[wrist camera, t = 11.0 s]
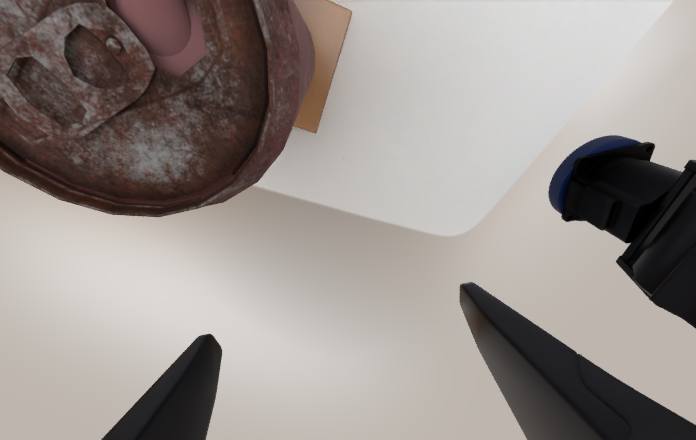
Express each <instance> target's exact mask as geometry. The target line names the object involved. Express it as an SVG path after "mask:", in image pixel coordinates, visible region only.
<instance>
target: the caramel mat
mask: <svg viewBox="0 0 696 440" xmlns="http://www.w3.org/2000/svg"><path fill="white" fill-rule="evenodd" d="M293 1H294V3H295V5H296V6H297V8H298V10H299V12H300V14H301V16H302V18H303V20H304V21H305V23H306V25H307V27H308V29H309V31H310V33H311V37H312V42H313V46H314V50H315V64H314V74H313V77H312V79H311V82H310V85H309V88H308V91H307V93H306V96H305V98H304V100H303V103H302V105H301V108H300V110H299V113H298V115H297V117H296V120H295V122H294V125H293V126H295V127H298V128H301V129H304V130H307V131H310V132H313V133H316V132H317V129H318V126H319V122H320V119H321V115H322V112H323V109H324V105H325V102H326V99H327V95H328V92H329V89H330V85H331V82H332V78H333V75H334V72H335V68H336V65H337V62H338V58H339V55H340V51H341V48H342V45H343V41H344V38H345V35H346V31H347V28H348V25H349V21H350V18H351V14H352V11H351V10H348V9H346V8H344V7H342V6H340V5H338V4H335V3H333V2H331V1H329V0H293Z"/></svg>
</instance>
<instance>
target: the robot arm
mask: <svg viewBox="0 0 696 440" xmlns="http://www.w3.org/2000/svg"><path fill="white" fill-rule="evenodd" d="M654 149H655V144H654V143H650V142H644V143H639V144H635V145H630V146H626V147H621V148H617V149H612V150H608V151H603V152H598V153H594V154H589V155H585V156H581V157H578V158H577V159H576V160H575V161H574V164H573V168H572V173H571V177H570V181H569V186H568V190H567V194H566V199H565V203H564V207H563V212H562V216H561V218H562V219H563V220H564V221H566V222H570V221H575V220H580V219H584V220H586V221H587V222H589V223H591V224H592V225H594V226H595V227H597V228H598V229H600V230H606V231H607V232H609V233H610V234H612V235H614V236H615V237H617V238H619V239H620V240H622V241H623V242H625V243H631V244H630V245H629V246H628V248H627V249H626V251H625V252H624V253H623V255H622V256H619V258H618V259H617V260H616V263H617V264H618V265H619V266H620V267H621V268H622V269H623V270H624V271H625V272H626V274H627V275H628V276H629V277H630V278H631V279H632V280H633V281H634V282H635V283H636V285H637V286H638V287H639V288H640V289H641V290H642V291H643V292H644V293H645V294H646V296H648V298H649V299H650V300H651V301H653V303H655V304H656V305H657V306H659V307H661V308H663V309H665V310H667V311H669V312H671V313H673V314H674V315H677V316H679V317H681V318H682V319H684V320H685V321H687V322H688V323H689V324H690V325H692V326H693V327H694V328H696V160H689V161H688V163H687V164H686V166H685V167H684V168H685V170H684V171H683V172H680V171H677V170H674V169H671V168H668V167H665V166H662V165H659V164H656V163H653V162H650V159H651V157H652V154H653V151H654ZM581 162H582V163H581ZM580 163H581V164H580ZM460 305H461V308H462V310H463V313H464V315H465V317H466V320H467V322H468V325H469V327H470V329H471V332H472V335H473V337H474V339H475V342H476V344H477V347H478V349H479V351H480V353H481V355H482V357H483V358H484V360H485V362H486V364H487V366H488V368H489V370H490V371H491V373H492V375H493V377H494V379H495V381H496V383H497V384H498V386H499V388H500V390H501V392H502V394H503V395H504V397H505V399H506V401H507V403H508V405H509V407H510V408H511V410H512V412H513V414H514V416H515V418H516V419H517V421H518V423H519V425H520V427H521V429H522V430H523V432H524V434H525V436H526V438H527V440H696V425H694V424H693V423H691V422H689V421H688V420H686V419H684V418H682V417H681V416H679V415H677V414H676V413H674V412H672V411H671V410H669V409H667V408H665V407H664V406H662V405H660V404H659V403H657V402H655V401H653V400H652V399H650V398H648V397H647V396H645V395H643V394H641V393H640V392H638V391H636V390H634V389H633V388H631V387H630V386H628V385H626V384H625V383H623V382H621V381H620V380H618V379H616V378H615V377H613V376H612V375H610V374H609V373H607V372H606V371H604V370H603V369H601V368H600V367H598V366H596V365H595V364H593V363H592V362H590V361H589V360H587V359H586V358H584V357H583V356H582V355H580V354H577V353H576V352H575V351H574V350H572V349H571V348H569V347H568V346H567V345H565V344H564V343H562V342H561V341H559V340H558V339H556V338H554V337H553V336H552V335H550V334H549V333H547V332H546V331H544V330H543V329H541V328H540V327H538V326H537V325H535V324H534V323H532V322H531V321H529V320H528V319H527V318H525V317H523V316H522V315H520V314H519V313H518V312H516V311H515V310H513V309H512V308H510V307H509V306H507V305H506V304H504V303H503V302H501V301H500V300H498V299H497V298H495V297H494V296H492V295H491V294H489V293H488V292H486V291H485V290H483V289H482V288H481V287H479V286H478V285H476V284H475V283H473V282H469V283H464V284H461V285H460ZM221 357H222V349H221V346H220V345H219V343H218V342H217V341H216V339H215V338H214V337H213V335H211V334H206V335H201V336H199V337H198V338H196V340H195V341H194V342H193V343H192V344H191V345H190V346H189V347H188V348H187V349H186V350H185V352H183V353H182V354H181V355H180V357H179V358H178V359H177V360H176V361H175V362H174V363H173V364H172V365H171V366H170V367H169V368H168V369H167V370H166V371H165V372H164V374H163V375H162V376H161V377H160V378H159V379H158V380H157V381H156V382H155V383H154V384H153V385H152V387H151V388H149V389H148V391H147V392H146V393H145V394H144V395H143V396H142V397H141V398H140V399H139V400H138V401H137V402H136V403H135V404H134V405H133V407H132V408H131V409H130V410H129V411H128V412H127V413H126V414H125V415H124V416H123V417H122V418H121V419H120V420H119V422H118V423H117V424H116V425H115V426H114V427H113V428H112V429H111V430H110V431H109V432H108V433H107V434H106V435H105V436H104V438H102V440H206V436H207V431H208V427H209V423H210V419H211V415H212V411H213V407H214V402H215V397H216V392H217V385H218V378H219V371H220V363H221Z"/></svg>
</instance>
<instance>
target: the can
mask: <svg viewBox="0 0 696 440" xmlns="http://www.w3.org/2000/svg"><path fill="white" fill-rule="evenodd" d="M314 64H315V50H314V46H313V42H312V37H311V33H310V31H309V29H308V27H307V25H306V23H305V21H304V20H303V18H302V16H301V14H300V12H299V10H298V8H297V6H296V5H295V3H294V1H293V0H0V169H1V170H2V171H4V172H6V173H8V174H10V175H12V176H14V177H16V178H18V179H20V180H22V181H24V182H25V183H28V184H30V185H31V186H33V187H35V188H37V189H39V190H42V191H43V192H46V193H47V194H49V195H51V196H53V197H55V198H57V199H59V200H62V201H66V202H70V203H73V204H77V205H80V206H83V207H87V208H91V209H94V210H98V211H101V212H105V213H108V214H112V215H129V216H148V217H162V216H166V215H171V214H175V213H180V212H184V211H189V210H193V209H198V208H201V207H204V206H208V205H213V204H218V203H222V202H225V201H227V200H228V199H230V198H232V197H233V196H235V195H237V194H238V193H240V192H242V191H243V190H245V189H246V188H248V187H250V186H252V185H253V184H255V183H257V182H258V181H259V180H260V178H261V177H262V176H263V175H264V173H265V172H266V171H267V170H268V168H269V167H270V166H271V164H272V163H273V162H274V161H275V159H276V158H277V157H278V156H279V154H280V153H281V152H282V151H283V149H284V147H285V144H286V142H287V139H288V137H289V135H290V132H291V130H292V127H293V125H294V122H295V120H296V117H297V115H298V113H299V110H300V108H301V105H302V103H303V100H304V98H305V96H306V93H307V91H308V88H309V85H310V82H311V79H312V77H313V74H314Z"/></svg>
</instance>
